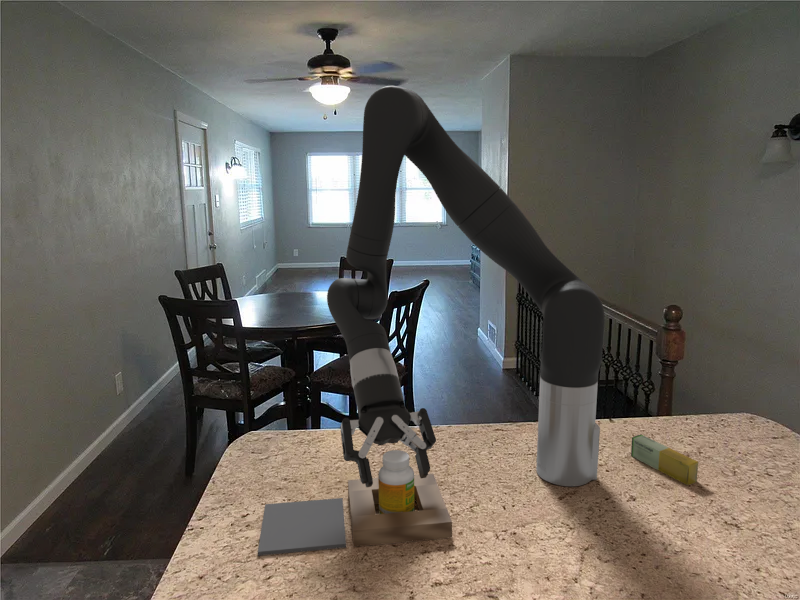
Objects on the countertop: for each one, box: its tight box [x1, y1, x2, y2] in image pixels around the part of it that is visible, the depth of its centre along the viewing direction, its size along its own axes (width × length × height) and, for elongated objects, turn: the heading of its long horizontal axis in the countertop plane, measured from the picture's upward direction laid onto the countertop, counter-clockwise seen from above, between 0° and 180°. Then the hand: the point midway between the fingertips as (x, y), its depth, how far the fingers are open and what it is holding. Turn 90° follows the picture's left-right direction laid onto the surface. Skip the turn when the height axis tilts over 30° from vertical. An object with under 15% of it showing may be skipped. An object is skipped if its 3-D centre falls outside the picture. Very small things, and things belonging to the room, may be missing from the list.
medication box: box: [630, 434, 699, 486], centre depth 103 cm, size 12×3×4 cm, turn 27°
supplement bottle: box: [377, 449, 415, 514], centre depth 89 cm, size 5×5×10 cm
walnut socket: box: [347, 473, 453, 548], centre depth 90 cm, size 14×14×2 cm
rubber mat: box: [257, 497, 347, 557], centre depth 87 cm, size 12×12×1 cm
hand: (397, 481), depth 88 cm, fingers open, 8 cm apart
